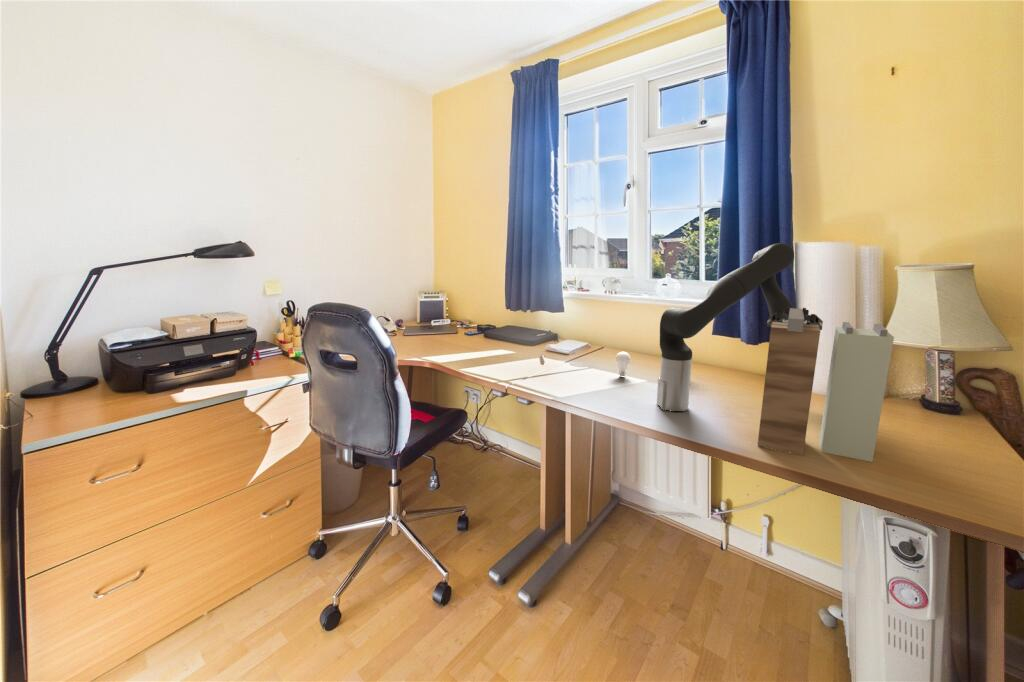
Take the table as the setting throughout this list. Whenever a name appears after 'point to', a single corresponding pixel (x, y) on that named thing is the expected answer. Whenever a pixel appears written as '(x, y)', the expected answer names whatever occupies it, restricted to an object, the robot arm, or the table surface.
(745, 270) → the robot arm
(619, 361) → the lightbulb
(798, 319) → the axle bar
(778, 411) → the walnut stand
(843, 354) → the cradle stand
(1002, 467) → the table surface
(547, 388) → the table surface
